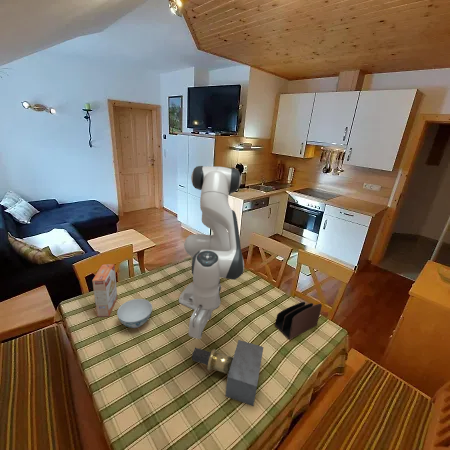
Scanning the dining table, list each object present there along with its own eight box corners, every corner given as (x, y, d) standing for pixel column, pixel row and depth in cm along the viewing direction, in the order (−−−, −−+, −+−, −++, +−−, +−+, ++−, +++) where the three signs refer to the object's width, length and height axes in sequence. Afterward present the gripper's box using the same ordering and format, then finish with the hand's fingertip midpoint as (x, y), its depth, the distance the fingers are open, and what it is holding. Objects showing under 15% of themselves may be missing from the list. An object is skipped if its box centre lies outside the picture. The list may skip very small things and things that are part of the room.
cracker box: (110, 316, 112) (105, 280, 105) (96, 317, 112) (90, 280, 104) (118, 297, 125) (114, 263, 118) (106, 297, 124) (101, 263, 117)
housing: (225, 396, 83) (227, 376, 79) (236, 357, 97) (238, 339, 93) (253, 406, 80) (256, 386, 77) (260, 365, 95) (263, 347, 91)
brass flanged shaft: (189, 368, 90) (190, 354, 87) (197, 352, 96) (197, 339, 94) (227, 381, 86) (229, 367, 83) (232, 364, 93) (234, 351, 90)
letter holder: (317, 325, 117) (323, 302, 112) (289, 340, 107) (294, 316, 102) (301, 312, 125) (307, 290, 120) (274, 325, 115) (278, 302, 110)
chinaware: (159, 323, 111) (158, 310, 108) (128, 341, 100) (126, 327, 98) (142, 306, 120) (141, 294, 117) (113, 321, 110) (111, 308, 107)
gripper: (202, 320, 71) (201, 353, 76) (222, 282, 89) (220, 311, 94) (183, 315, 72) (183, 347, 78) (207, 278, 91) (205, 307, 96)
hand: (203, 327), depth 86 cm, fingers open, 8 cm apart
